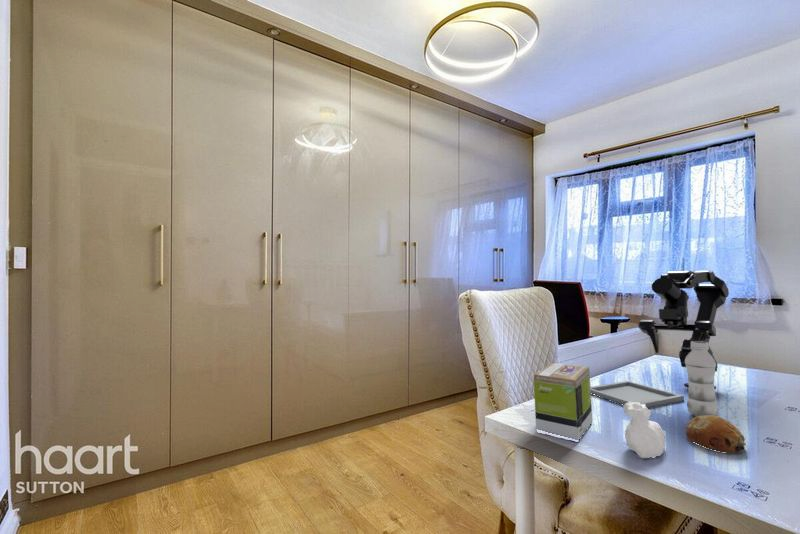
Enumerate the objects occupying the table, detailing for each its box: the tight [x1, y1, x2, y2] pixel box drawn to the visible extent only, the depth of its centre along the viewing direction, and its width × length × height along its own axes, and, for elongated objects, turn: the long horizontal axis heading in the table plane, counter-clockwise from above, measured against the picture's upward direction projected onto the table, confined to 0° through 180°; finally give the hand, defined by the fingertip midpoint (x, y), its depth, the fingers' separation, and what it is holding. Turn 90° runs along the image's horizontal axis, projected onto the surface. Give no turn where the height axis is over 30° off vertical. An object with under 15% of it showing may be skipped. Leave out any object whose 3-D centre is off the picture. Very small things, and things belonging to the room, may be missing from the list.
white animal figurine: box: [622, 402, 666, 459], centre depth 80 cm, size 12×8×11 cm
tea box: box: [533, 362, 593, 440], centre depth 92 cm, size 15×10×15 cm
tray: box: [590, 380, 685, 409], centre depth 115 cm, size 20×18×2 cm
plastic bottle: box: [685, 341, 720, 417], centre depth 98 cm, size 6×7×20 cm
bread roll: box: [685, 415, 747, 454], centre depth 82 cm, size 10×10×8 cm
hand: (674, 353), depth 111 cm, fingers open, 9 cm apart
